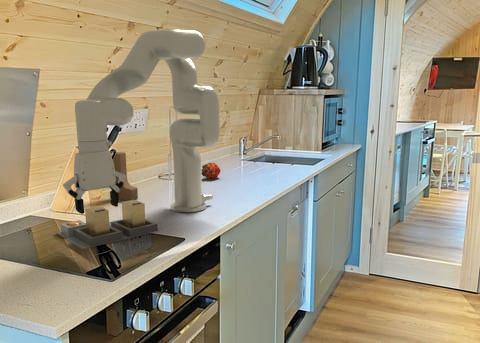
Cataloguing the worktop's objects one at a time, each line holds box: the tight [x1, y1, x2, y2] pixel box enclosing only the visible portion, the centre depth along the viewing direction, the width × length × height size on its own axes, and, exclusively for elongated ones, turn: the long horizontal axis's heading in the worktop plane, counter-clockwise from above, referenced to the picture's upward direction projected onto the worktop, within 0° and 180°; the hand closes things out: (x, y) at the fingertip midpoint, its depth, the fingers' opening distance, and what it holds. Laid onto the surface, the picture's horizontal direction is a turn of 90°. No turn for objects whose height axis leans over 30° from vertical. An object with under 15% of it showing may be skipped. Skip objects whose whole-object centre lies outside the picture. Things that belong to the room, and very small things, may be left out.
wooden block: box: [113, 151, 139, 201], centre depth 175 cm, size 9×4×18 cm, turn 70°
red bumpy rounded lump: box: [201, 162, 221, 180], centre depth 215 cm, size 8×8×12 cm
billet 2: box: [121, 199, 146, 229], centre depth 132 cm, size 4×6×8 cm, turn 42°
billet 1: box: [84, 205, 110, 237], centre depth 125 cm, size 4×6×8 cm, turn 42°
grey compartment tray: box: [56, 218, 163, 250], centre depth 131 cm, size 24×18×4 cm
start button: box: [69, 221, 79, 226], centre depth 130 cm, size 3×3×2 cm
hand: (98, 209), depth 125 cm, fingers open, 9 cm apart
